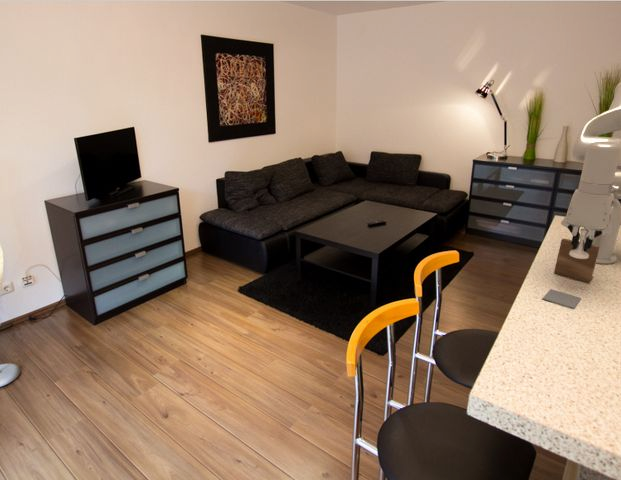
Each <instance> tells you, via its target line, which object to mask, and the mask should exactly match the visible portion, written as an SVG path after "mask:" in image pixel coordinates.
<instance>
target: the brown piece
mask: <svg viewBox="0 0 621 480" xmlns="http://www.w3.org/2000/svg"><path fill="white" fill-rule="evenodd" d="M571 242H572V239H567V238H562V239H561V240H560V246H559V249H558V254H557V259H556V263H555V268H554V271H553V274H554V275H556V276H560V277H562V278H563V277H564V278H567V279H570V280H574V281H578V282H582V283H586V284H588V285H589V284H591V283H592V281H593V279H594V271H595V267H596V264H597V263H596V260H597V256H598V252H599V249H600V246H597V245H592V246H591V249H588V250H587V251H586V252H587V253H588V254H589V257H588V258H587V259H579V258H575V257H572V256H570V255H569V253H570V251H571V250H575V249H572V248H573V245H571ZM578 245H579V243H578ZM584 245H585V243H584ZM577 247H578V246H577ZM576 249H577V248H576Z"/></svg>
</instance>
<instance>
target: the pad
mask: <svg viewBox="0 0 621 480" xmlns="http://www.w3.org/2000/svg"><path fill="white" fill-rule="evenodd" d="M541 300H543V301H545V302H549V303H553V304H555V305H559V306H561V307H566V308H568V309H572V310H575V309H576V307H577V306H578V304H579V303H580V302H581V300H582V297H581V296H576V295H572V294H570V293H569V294H568V293H566V292H562V291H559V290H555V289H552V288H550V289H549V290H548V291H547V292H546V294H545V295H544V296H543V297H542V299H541Z"/></svg>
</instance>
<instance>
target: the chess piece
mask: <svg viewBox="0 0 621 480" xmlns="http://www.w3.org/2000/svg"><path fill="white" fill-rule="evenodd" d="M588 232H589V230H588V229H586V228H585V227H583V228H581V229H580V236H579V238H580V239H579V245H578V247H577V249H575V250H571V251H570V253H569V255H570V256H572V257H575V258H579V259H587V258H588V257H589V254H588V253H587V252H584V251H583V250H584V240H586V238H587V237H586V235H587V233H588Z"/></svg>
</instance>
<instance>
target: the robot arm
mask: <svg viewBox="0 0 621 480" xmlns="http://www.w3.org/2000/svg"><path fill="white" fill-rule="evenodd" d="M609 133H613V134H612V137H611V136H610V137H607V136H601V135H605V134H609ZM571 156H572V158H573V160H574V161H576V162H578V163H583V165H582V166H583V167H582V171H581V174H580V180H579V184H578V188H577V189H575V190H574V192H573V194H572V197H571V200H570V202H569V206H568V209H567V211H566V212H567V213H566V215H565V217H564V218H563V219H562V220H561V222H560V225H561V226H563V227H565V228H567V229H568V230H569V232H570V233H571V236H572V237H571V238H572V239H571V240H572V242H571V245H573V248H572V249H576V248H577V246H578V243H579V242H580V238H579V236H581V233H580V231H581V229H580V228H584V227H585V228H586V229H588V230H589V232H588V233H587V235H586V237H587V238H586V240H584V243H585V245H584V250H583V251H584V252H586V251H587V250H588V249H591V246H592V245H597V246H600V249H599V252H598V256H597V260H596V264H601V265H603V264H604V265H608V264H609V265H610V264H615V263H616V262H617V259H618V257H617V256H616V255H615V254H613V253H614V249H615V246H616V241H617V238H618V235H619V231H620V227H621V203H620V201H619V200H621V168H618V167H621V81H620V82H619V83H617V85H616V86H615V89H614V92H613V99H612V101H611V104H610V105H609V109H608V110H606V111H604V112H601V113H600V114H598V115H596V116H594V117H593V118H592V119H590V120H589V121H587V122H586V123H585V124H584V125H583V126H582V127H581V129H580V130H579V133H578V135H577V137H576V139H575V141H574V144H573V145H572V150H571Z"/></svg>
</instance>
